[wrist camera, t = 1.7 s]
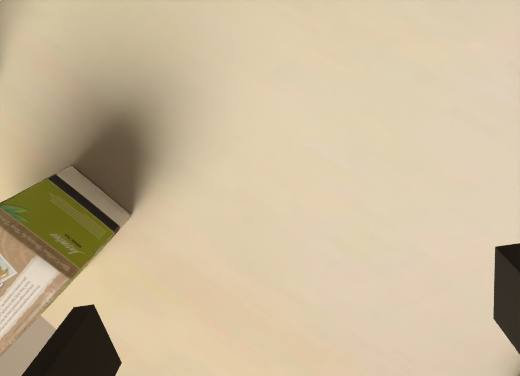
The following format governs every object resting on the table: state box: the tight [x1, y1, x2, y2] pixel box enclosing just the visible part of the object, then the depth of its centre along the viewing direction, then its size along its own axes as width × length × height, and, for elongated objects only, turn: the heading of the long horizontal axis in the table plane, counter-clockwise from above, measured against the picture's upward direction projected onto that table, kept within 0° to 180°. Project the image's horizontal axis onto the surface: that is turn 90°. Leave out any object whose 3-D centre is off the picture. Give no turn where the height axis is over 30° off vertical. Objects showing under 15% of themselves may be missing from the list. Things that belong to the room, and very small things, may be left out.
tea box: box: [0, 166, 131, 356], centre depth 43 cm, size 15×10×15 cm, turn 136°
